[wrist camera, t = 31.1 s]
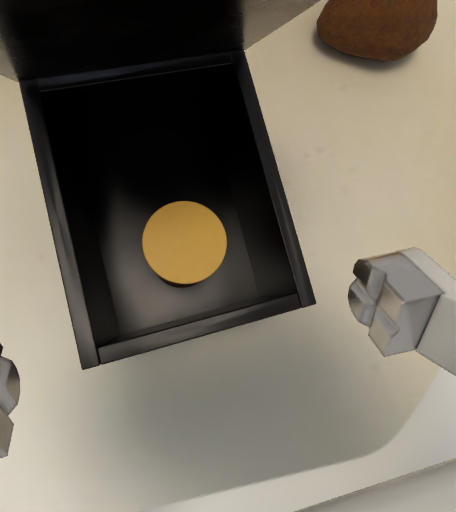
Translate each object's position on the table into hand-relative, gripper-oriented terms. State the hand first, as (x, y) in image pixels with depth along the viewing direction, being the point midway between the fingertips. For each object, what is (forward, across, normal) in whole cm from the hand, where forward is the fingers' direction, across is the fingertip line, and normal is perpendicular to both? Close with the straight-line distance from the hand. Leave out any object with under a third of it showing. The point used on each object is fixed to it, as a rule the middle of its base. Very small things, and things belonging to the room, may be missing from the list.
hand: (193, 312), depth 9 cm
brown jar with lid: (+17, -1, +12) cm, 21 cm away
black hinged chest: (+19, -1, +10) cm, 22 cm away
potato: (+30, -22, 0) cm, 37 cm away
